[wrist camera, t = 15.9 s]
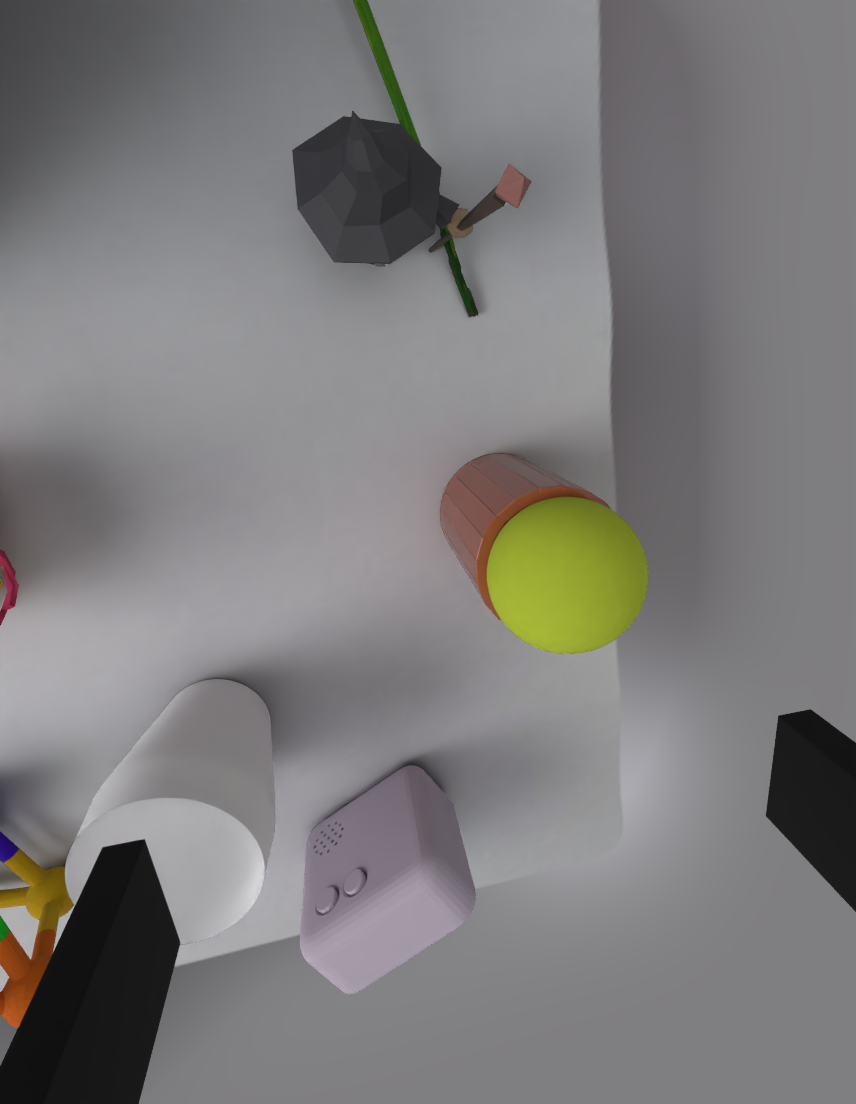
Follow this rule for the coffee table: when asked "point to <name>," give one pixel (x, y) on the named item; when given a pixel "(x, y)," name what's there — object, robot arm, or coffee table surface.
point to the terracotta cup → (494, 507)
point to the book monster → (8, 585)
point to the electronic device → (383, 880)
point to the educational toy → (46, 905)
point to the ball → (567, 575)
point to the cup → (192, 807)
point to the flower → (408, 131)
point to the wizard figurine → (382, 192)
